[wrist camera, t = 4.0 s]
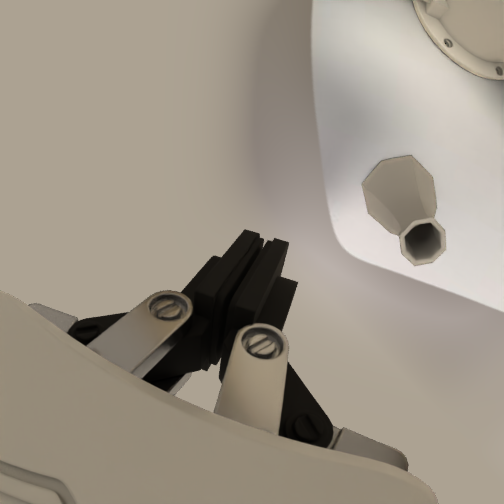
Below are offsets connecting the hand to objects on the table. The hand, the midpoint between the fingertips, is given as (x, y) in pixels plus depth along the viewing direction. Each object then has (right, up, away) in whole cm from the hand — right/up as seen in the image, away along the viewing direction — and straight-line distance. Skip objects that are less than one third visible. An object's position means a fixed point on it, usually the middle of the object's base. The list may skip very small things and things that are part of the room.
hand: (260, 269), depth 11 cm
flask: (+13, +6, +13) cm, 19 cm away
